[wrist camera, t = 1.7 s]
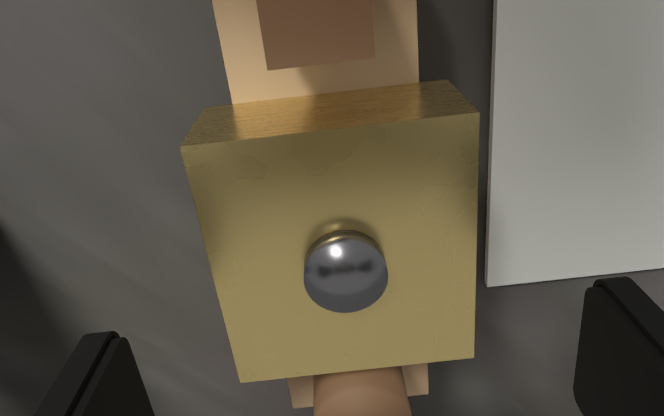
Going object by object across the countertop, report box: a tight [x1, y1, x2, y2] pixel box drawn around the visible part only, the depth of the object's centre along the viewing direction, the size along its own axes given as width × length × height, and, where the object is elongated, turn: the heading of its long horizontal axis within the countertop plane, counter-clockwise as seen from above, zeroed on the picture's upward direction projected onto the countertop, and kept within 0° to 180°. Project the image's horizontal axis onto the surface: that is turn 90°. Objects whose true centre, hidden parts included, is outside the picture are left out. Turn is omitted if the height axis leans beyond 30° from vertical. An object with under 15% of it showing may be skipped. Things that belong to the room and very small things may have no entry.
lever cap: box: [180, 79, 480, 383], centre depth 14 cm, size 7×6×4 cm
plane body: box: [212, 0, 429, 416], centre depth 16 cm, size 16×5×9 cm, turn 6°
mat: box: [484, 0, 664, 287], centre depth 20 cm, size 12×10×1 cm
